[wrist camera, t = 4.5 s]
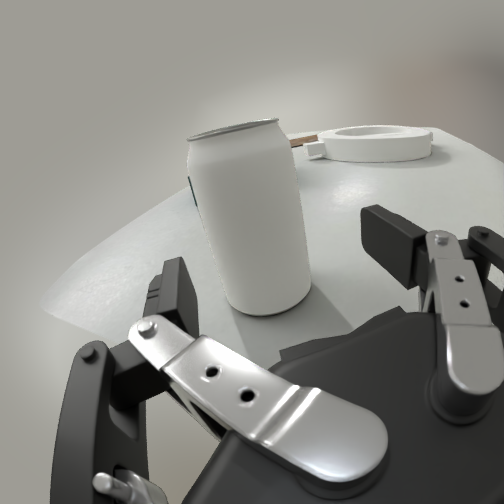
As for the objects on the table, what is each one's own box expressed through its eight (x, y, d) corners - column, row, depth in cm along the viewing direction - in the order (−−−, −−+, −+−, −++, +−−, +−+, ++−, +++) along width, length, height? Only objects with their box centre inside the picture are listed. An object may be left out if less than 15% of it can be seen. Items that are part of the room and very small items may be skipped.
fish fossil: (307, 136, 100) (307, 133, 99) (331, 137, 94) (331, 134, 93) (269, 148, 83) (268, 144, 83) (297, 149, 77) (296, 145, 77)
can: (308, 319, 17) (277, 120, 12) (216, 319, 19) (159, 148, 14) (314, 264, 23) (290, 114, 17) (240, 268, 25) (204, 131, 19)
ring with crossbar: (299, 161, 60) (295, 141, 57) (344, 141, 77) (342, 126, 75) (426, 166, 42) (425, 141, 40) (434, 144, 59) (433, 127, 57)
